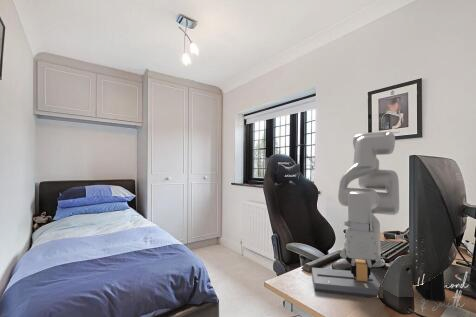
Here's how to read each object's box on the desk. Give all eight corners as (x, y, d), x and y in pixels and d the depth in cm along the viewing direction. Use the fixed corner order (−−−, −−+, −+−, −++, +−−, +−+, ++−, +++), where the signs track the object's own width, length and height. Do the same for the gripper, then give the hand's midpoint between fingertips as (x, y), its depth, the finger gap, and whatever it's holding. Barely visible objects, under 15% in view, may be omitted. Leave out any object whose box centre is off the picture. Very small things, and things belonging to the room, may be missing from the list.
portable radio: (449, 303, 75) (447, 225, 75) (427, 301, 76) (426, 224, 76) (433, 290, 83) (432, 219, 83) (414, 288, 84) (413, 218, 84)
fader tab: (353, 280, 87) (353, 259, 87) (364, 281, 87) (363, 259, 87) (356, 285, 84) (356, 263, 84) (367, 286, 83) (367, 264, 83)
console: (311, 274, 95) (311, 267, 95) (371, 280, 90) (371, 272, 90) (314, 291, 83) (314, 282, 83) (383, 298, 78) (383, 289, 78)
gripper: (337, 227, 83) (338, 279, 83) (389, 230, 80) (390, 284, 80) (333, 221, 91) (334, 269, 91) (381, 223, 87) (382, 273, 87)
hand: (360, 275), depth 85 cm, fingers closed on fader tab, 3 cm apart
